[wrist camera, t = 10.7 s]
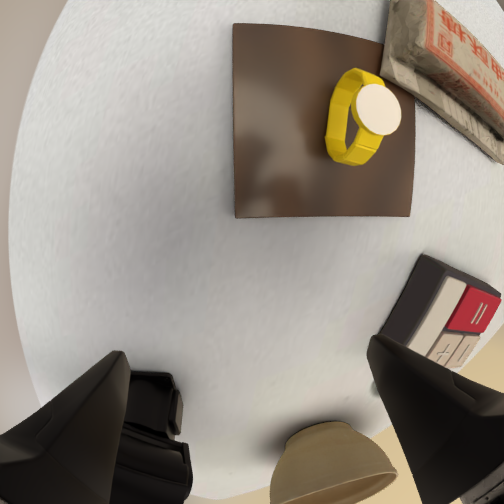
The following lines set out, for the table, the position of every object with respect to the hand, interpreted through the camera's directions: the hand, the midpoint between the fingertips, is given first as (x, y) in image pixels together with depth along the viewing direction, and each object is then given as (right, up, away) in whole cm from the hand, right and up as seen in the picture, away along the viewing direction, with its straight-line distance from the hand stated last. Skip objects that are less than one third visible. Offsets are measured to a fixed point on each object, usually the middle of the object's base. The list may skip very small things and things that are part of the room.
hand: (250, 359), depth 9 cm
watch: (+6, +13, +8) cm, 16 cm away
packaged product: (+19, +19, +7) cm, 28 cm away
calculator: (+21, -3, +16) cm, 27 cm away
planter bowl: (+9, -22, +23) cm, 33 cm away
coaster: (+6, +13, +8) cm, 17 cm away
